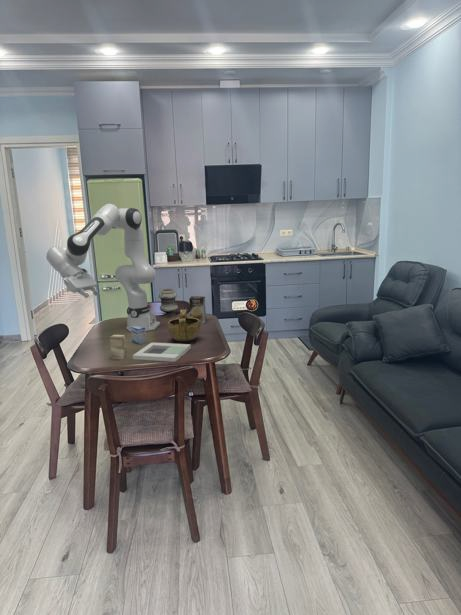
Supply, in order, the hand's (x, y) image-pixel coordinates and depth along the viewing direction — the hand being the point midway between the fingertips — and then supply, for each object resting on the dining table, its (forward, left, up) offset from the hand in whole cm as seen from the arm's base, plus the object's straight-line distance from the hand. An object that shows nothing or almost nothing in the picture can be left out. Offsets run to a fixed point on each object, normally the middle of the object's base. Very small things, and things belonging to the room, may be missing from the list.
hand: (92, 295), depth 201 cm
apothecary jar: (-81, +2, -31) cm, 86 cm away
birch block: (+1, +12, -31) cm, 33 cm away
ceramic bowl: (-30, +34, -31) cm, 55 cm away
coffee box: (-67, +28, -31) cm, 79 cm away
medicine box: (-23, +10, -31) cm, 40 cm away
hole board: (-8, +31, -30) cm, 44 cm away
